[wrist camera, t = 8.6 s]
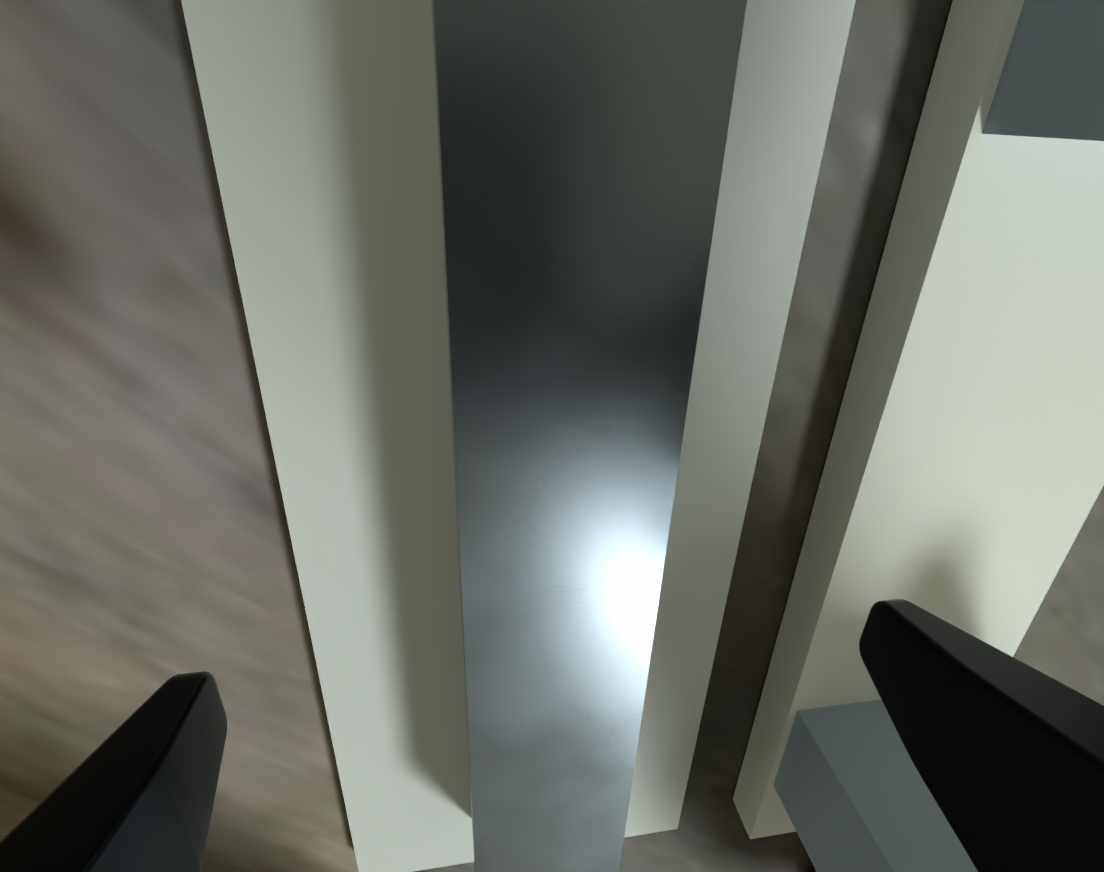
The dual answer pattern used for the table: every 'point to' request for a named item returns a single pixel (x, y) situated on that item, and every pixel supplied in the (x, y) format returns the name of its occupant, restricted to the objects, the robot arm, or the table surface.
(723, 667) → the table surface
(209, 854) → the table surface
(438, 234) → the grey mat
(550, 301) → the steel rod
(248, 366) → the table surface
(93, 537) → the table surface
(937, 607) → the hook rack
